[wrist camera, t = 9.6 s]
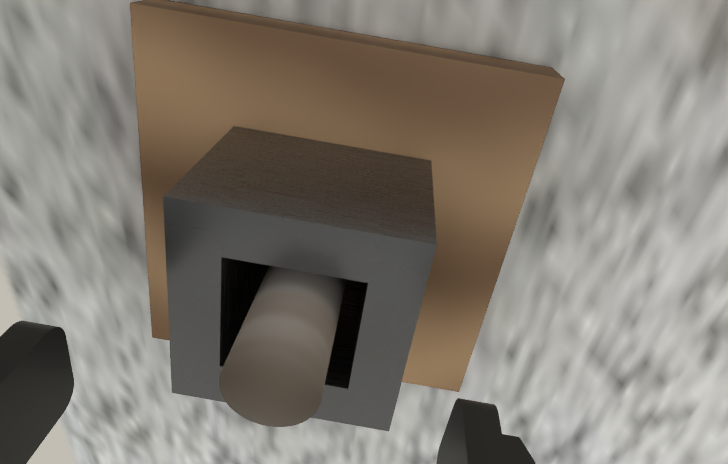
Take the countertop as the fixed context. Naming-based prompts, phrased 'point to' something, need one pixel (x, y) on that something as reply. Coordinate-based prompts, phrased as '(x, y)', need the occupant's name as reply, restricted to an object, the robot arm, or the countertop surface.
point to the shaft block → (351, 128)
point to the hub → (300, 258)
